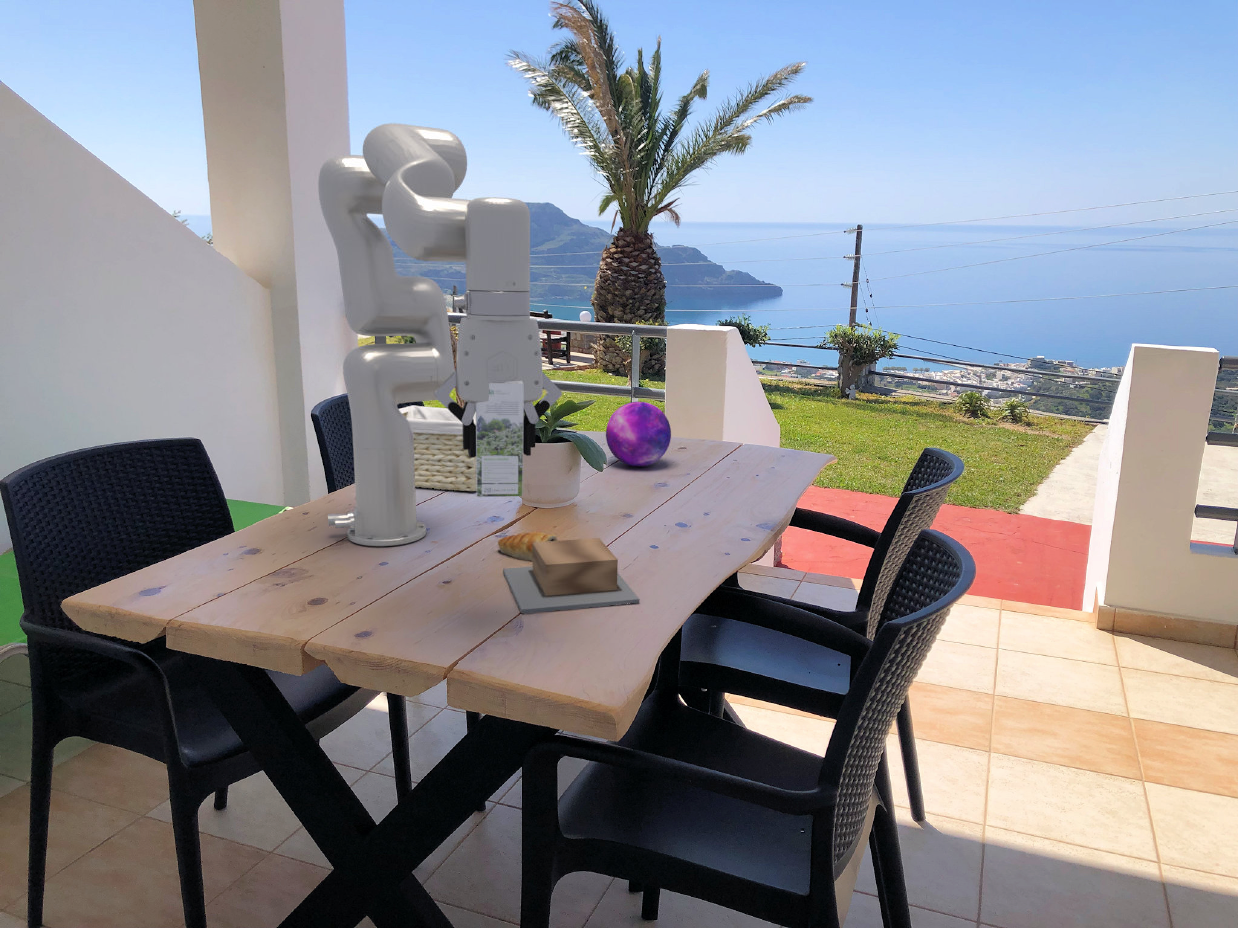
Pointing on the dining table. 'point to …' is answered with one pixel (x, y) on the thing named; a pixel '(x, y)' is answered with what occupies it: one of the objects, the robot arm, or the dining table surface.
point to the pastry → (523, 544)
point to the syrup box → (500, 441)
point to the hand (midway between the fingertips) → (499, 453)
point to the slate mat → (533, 601)
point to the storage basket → (440, 449)
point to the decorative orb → (638, 434)
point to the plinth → (573, 567)
